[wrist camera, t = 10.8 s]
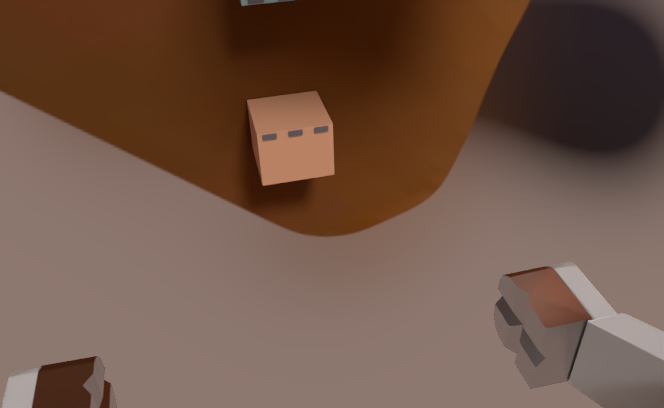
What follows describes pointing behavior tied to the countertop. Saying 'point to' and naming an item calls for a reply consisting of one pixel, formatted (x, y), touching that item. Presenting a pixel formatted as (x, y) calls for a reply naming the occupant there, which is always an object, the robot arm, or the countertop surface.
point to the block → (291, 137)
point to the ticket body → (259, 2)
